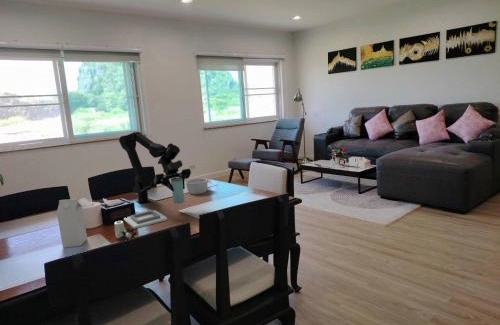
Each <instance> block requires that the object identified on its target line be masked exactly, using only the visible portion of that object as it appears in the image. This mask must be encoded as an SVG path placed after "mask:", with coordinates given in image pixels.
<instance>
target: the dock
mask: <svg viewBox="0 0 500 325" xmlns="http://www.w3.org/2000/svg"><path fill="white" fill-rule="evenodd" d="M126 217H127V218H126ZM126 217H123V222H125V223H127V224H128V225H129V226H130V227H131V228H134V230H135V229H138V228H142V227H147V226H149V225H153V224H157V223H162V222H164V221H168V217H166V216H165V215H164V214H162V213H160V212H158V211H157V210H147V211H143V212H139V213H136V214H132V215H129V216H126Z"/></svg>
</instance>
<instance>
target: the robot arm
mask: <svg viewBox="0 0 500 325" xmlns="http://www.w3.org/2000/svg"><path fill="white" fill-rule="evenodd" d="M118 142H119V145H120V146H121V148H122V149H123V150H124V151H125V152H126V153H127V157H128V159H129V162H130V164H131V167H132V170H133V172H134V175H135V177H134V186H133V187H132V192H133V193H134V194H137V200H135V201H136V203H137V204H140V205H141V204H145V203H149V202H151V201H152V200H150V199H149V194H148V192H149V191H150V190H151V189H152V179H151V177H150V174H148V173H147V174H146V173H145V171H144V168H143V165H142V162H141V160H140V157H139V153H138V152H137V149H136V147H137V143H138V144H139V145H140V146H142V147H144V148H145V149H146V150H147V151H148V153H149V154H150V156H152V158H155V159H156V158H157V159H158V158H159V159H158V161H157V165H161V166H162V171H163V173H158V174H155V175H154V179H153V184H154V185H155V186H157V185H161V186H164V187H166V188H167V189H169V190H170V191H171V192H172V191H174V189H173V187H172V184H171V179H173V178H182V182H183V190H185V187H186V186H185V185H186V183H185V180H187V179H190V176H191V174H192V171H191V170H192V169H190V168H185V169H181V172H179V171H180V170H179V169H180V168H181V167H183V162H182V160H181V159H178V160H177V161H173V160H175V159H176V157H177V156H179V153H180V151H181V149H180V148H179V146H177V145H176V144H173V143H172V142H171V143H168V145H167V147H166V146H165V145H163V144H160V143H156V142H154V141H153V140H150V139H149V137H147V136H145V135H144V134H142V132H140V131H134V132H131V133H129V134H126V135H121V136H120V137H119V140H118Z"/></svg>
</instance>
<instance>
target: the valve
mask: <svg viewBox="0 0 500 325" xmlns="http://www.w3.org/2000/svg"><path fill="white" fill-rule="evenodd" d="M124 222H125V221H124V220H118V221H115V222H114V223H113V224H114V225H113V226H114V234H115V238H116V239H121V240H123V241H125V240H128V239H132V238H135V239H136V237H135V236H136V235H137V234H138V233H137V231H135V229H134V228H132V227H131V228H129V227H126V228H125V223H124ZM132 240H133V239H132Z"/></svg>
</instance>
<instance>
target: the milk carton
mask: <svg viewBox="0 0 500 325" xmlns="http://www.w3.org/2000/svg"><path fill="white" fill-rule="evenodd" d="M56 215H57V221H58V227H59V232H60V239H61V245H62V248H63V249H64V248H73V247H74V248H75V247H81V246H82V245H83V244H84V243H85V242H86V241H87V240H88V235H87V230H86V224H85V217H84V216H85V215H84V210H83V205H82V204H81V203H80V202H79V201H78V198H71V199H60V200H58V206H57V210H56Z"/></svg>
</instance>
